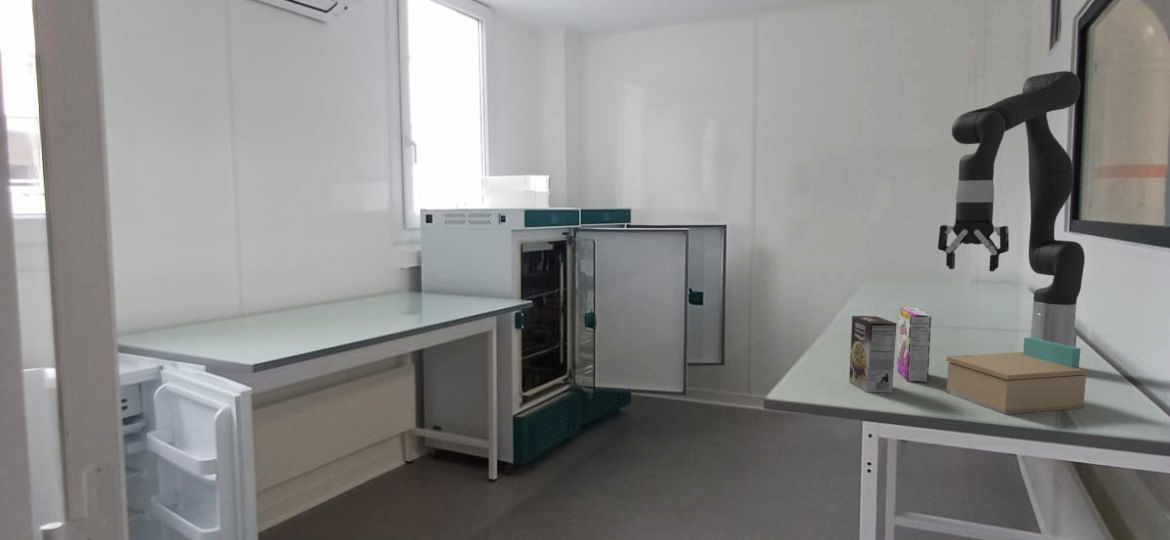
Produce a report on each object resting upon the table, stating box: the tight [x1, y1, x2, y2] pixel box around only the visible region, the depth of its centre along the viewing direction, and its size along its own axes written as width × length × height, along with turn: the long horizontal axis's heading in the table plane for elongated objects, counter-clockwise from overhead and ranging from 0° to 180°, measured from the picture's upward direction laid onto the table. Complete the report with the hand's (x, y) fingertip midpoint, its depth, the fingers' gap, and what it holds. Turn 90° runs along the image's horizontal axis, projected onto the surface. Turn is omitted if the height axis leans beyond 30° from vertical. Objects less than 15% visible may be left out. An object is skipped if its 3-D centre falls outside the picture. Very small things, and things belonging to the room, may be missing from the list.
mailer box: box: [946, 361, 1087, 415], centre depth 149 cm, size 20×16×7 cm
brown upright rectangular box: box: [848, 315, 897, 393], centre depth 159 cm, size 9×6×16 cm
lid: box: [946, 336, 1090, 380], centre depth 149 cm, size 21×17×5 cm
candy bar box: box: [896, 307, 932, 383], centre depth 168 cm, size 11×5×16 cm, turn 168°
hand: (971, 269), depth 160 cm, fingers open, 8 cm apart
